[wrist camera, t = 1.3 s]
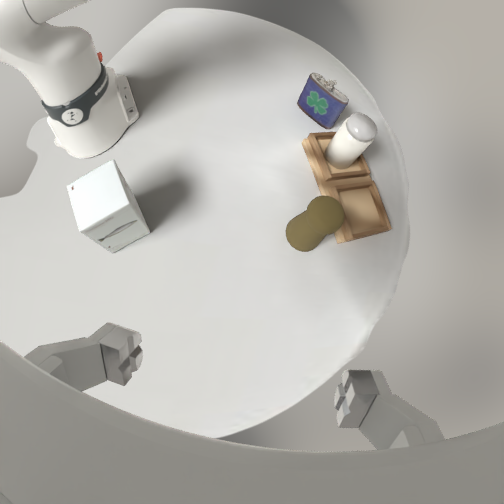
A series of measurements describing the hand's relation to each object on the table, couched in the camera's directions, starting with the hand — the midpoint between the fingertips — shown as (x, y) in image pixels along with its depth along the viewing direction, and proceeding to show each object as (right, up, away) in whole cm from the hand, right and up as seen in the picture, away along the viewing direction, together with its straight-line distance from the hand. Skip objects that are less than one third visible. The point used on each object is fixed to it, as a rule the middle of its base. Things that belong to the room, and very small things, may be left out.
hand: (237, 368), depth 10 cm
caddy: (+18, +17, +38) cm, 45 cm away
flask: (+13, +33, +41) cm, 54 cm away
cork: (+9, +7, +34) cm, 36 cm away
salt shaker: (+16, +22, +37) cm, 46 cm away
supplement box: (-20, +9, +31) cm, 38 cm away
